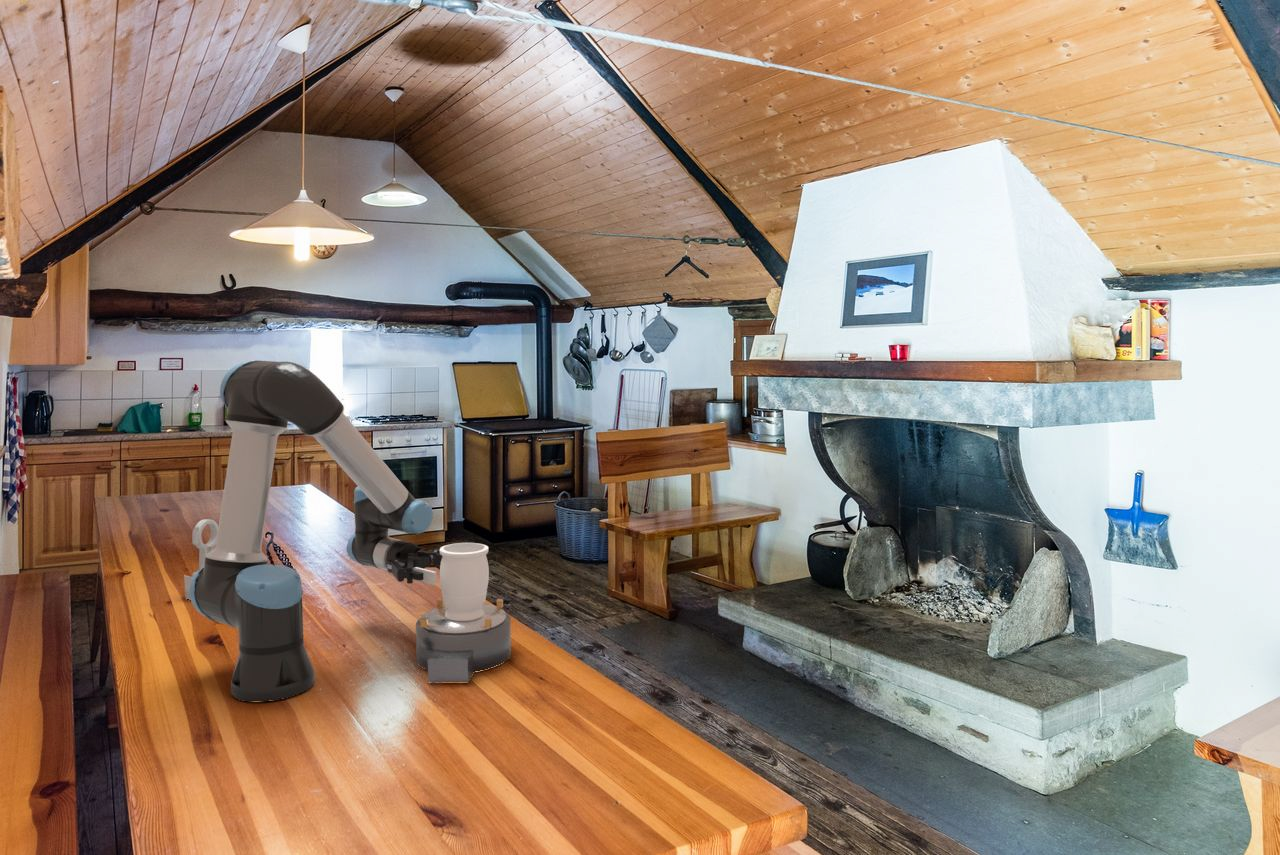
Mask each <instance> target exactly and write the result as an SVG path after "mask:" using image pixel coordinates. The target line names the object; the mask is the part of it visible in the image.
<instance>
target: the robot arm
mask: <svg viewBox="0 0 1280 855" xmlns="http://www.w3.org/2000/svg"><path fill="white" fill-rule="evenodd" d="M219 387H220V389H219V396H220V398H221V399H220V400H221V402H222V403H223V404H224V407H225V408H226V409H227V411H226V412H227V413H226V420H225V422H226V424H227V425H228V426H229V427H230V429H231V431H232V434H231V435H232V436H231V440H230V441H231V442H230V447H229V448H230V449H229V453H228V454H229V455H228V460H227V468H226V475H225V480H224V486H223V489H224V490H223V495H222V500H221V509H220V513H219V514H220V515H219V516H220V517H219V520H218V521H219V522H218V533H217V540H216V545H215V546H214V547H213V550H211V551H210V552H209V553H207V554H206V557H205V563H204V566H202V567H201V568H200V570H199V569H198V570H199V571H198V570H197V571H198V572H197V571H195V572H196V574H195V575H194V577H193V579H192V581H191V585H190V598H191V601H190V602H191V603H192V606H193V607H194V608H195V610H196V611H197V612H198V613H199V614H200V615H202V616H203V617H205V618H207V619H209V620H210V621H211V622H216V623H219V624H223V625H227V626H230V627H232V628H235V629H237V631H238V632H237V633H238V635H237V636H238V656H237V659H236V663H235V667H234V670H233V673H232V677H231V680H230V694H232V695H233V696H234V697H235V698H237V699H240V700H244V701H269V700H277V701H279V700H278V699H282V698H286V699H288V698H287V697H290V696H293V695H296V694H298V695H300V694H299V693H301V694H302V692H303V693H304V691H305V692H306V691H308V690H309V689H311V688H312V687H313V686H314V684H315V681H316V679H315V669H314V666H313V664H312V661H311V659H310V657H309V654H308V652H307V649H306V647H305V644H304V643H305V642H304V619H303V618H304V617H303V616H304V614H303V594H304V590H303V585H302V580H301V576H300V574H299V573H298V571H297V570H295V569H294V568H292V567H289V566H286V565H281V564H277V565H274V564H268V557H267V556H266V555H265V553H264V552H263V551H262V547H263V546H262V545H263V540H264V533H265V532H264V530H265V525H266V519H267V511H268V504H269V497H270V491H271V484H272V477H273V470H274V463H275V458H276V457H275V456H276V451H277V443H278V437H279V435H281V434H283V433H284V432H285V431H287V430H288V422H289V423H291V424H293V425H294V426H296V428H298V429H299V430H300V431H301V432H302V434H304V436H307V437H313V438H314V439H315V440H316V441H317V442H318V443H319V445H321V447H322V448H323V449H324V450H325V451H326V452H327V454H328V455H329V456H331V458H332V459H333V460H334V462H336V464H337V465H338V466H339V467H340V468H341V469H342V470H343V471H344V472H345V474H346V475H347V476H348V477H349V478H350V479H351V481H353V483H355V485H356V487H355V488H354V491H353V492H354V493H353V495H354V496H353V497H354V498H353V509H354V510H353V512H354V526H355V527H354V528H355V529H354V530H355V531H354V533H353V534H352V535H351V536H350V537H349V539H348V541H347V544H346V553H347V556H348V558H350V560H352V561H353V562H355V563H358V564H360V565H362V566H366V567H371V568H375V569H380V570H384V571H387V572H388V574H389V573H390V574H392V575H393V576H394V578H395V579H396V580H397V582H400V583H401V582H404V581H405V579H406V583H407V584H413V583H414V581H416V582H420V583H424V584H428V585H431V586H437V584H438V582H437V578H438V577H437V571H433V570H430V569H429V568H437V567H438V566H440V565H441V560H442V555H441V554H440V548H439V549H438V548H433V549H431V551H426V550H421V549H420V548H419V546H418V545H417V544H416V543H414V542H410V541H408V540H402V539H399V538H394V537H389V529H390V530H394V531H398V532H404V533H405V534H417V535H418V534H422V533H424V532H426V531H428V530H429V528H430V526H431V525H432V522H433V518H434V511H433V509H432V506H431V505H430V504H429V503H428V502H426V501H424V500H422V499H416V498H415V497H414V496H413V495H412V494H411V492H410V491H409V490H408V489H407V488H406V487H405V485H404V484H403V483H402V482H401V481H400V480H399V479H398V477H397V476H396V475H395V474H394V472H393V471H392V470H391V469H390V468H389V466H388V465H387V464H386V463H385V461H384V460H383V459H382V457H381V456H379V454H378V453H377V452H376V451H375V449H374V448H373V447H372V446H371V444H370V443H369V442H368V441H367V440H366V439H365V438H364V436H363V435H362V434H361V433H360V432H359V430H358V429H357V427H356V426H355V425H354V424H353V423H352V422H351V421H350V420H349V418H348V417H347V416H346V415H345V413H344V411H345V407H344V406H345V405H344V404H343V403H342V402H341V401H340V399H339V398H338V397H337V396H336V394H335V393H333V391H332V389H330V388H329V387H328V386H327V385H326V384H325V382H323V380H321V379H320V378H319V377H318V376H317V375H316V374H314V373H313V372H312V371H311V370H310V369H308V368H306V367H305V366H303V365H301V364H299V363H295V362H292V361H273V360H272V361H271V360H270V361H269V360H257V359H256V360H248V361H245V362H240V363H238V364H236V365H234V366H233V367H231V368H230V369H229V370H228V371H227V372H226V373H225V375H224V376H223V377H222V380H221V383H220V386H219ZM432 561H433V562H432ZM426 568H428V569H426ZM232 695H231V696H232ZM233 696H232V697H233ZM296 696H297V695H296ZM234 697H233V698H234ZM293 697H294V696H293ZM235 698H234V699H235ZM290 698H291V697H290ZM237 699H236V700H237ZM240 700H239V701H240ZM282 700H283V699H282ZM244 701H243V702H244Z"/></svg>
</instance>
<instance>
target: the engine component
mask: <svg viewBox="0 0 1280 855" xmlns="http://www.w3.org/2000/svg"><path fill="white" fill-rule="evenodd" d="M207 525H208V526H209V529H210V537H209V540H208V541H207V542H206V543H204V542H203V538H202V536H203V535H202V533H203V531H204V528H205V527H206V526H207ZM218 527H219V523H217V522H216V521H215V520H213V519H209V518H208V519H207V518H206V519H201V520H200V521H198V522H197V523H196V524H195V526H194V529H193V531H191V532H192V533H191V535H192V539H191V540H192V541H191V542H192V545H194V546H195V547H196V548H197V549H198V550H199V554H198V556H199V557H198V558H199V559H198V569H197V571H194V572H193V573H192V574H191V576H188V575H186V574H184V575H183V576H184V577H183V578H184V579H183V580H184V598H185V600H187V599H189V600H188V601H190V600H191V598H190V585H191V581H192V579H193V577H194V575H195V574H196V572H198V571H199V570H200V568H201V567H202V566H204V563H205V557H206V554H207V553H209V552H210V551H211V550H213V549H214V548H215V546H216V540H217V533H218Z"/></svg>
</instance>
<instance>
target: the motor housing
mask: <svg viewBox="0 0 1280 855" xmlns="http://www.w3.org/2000/svg"><path fill="white" fill-rule="evenodd" d="M436 603H437V604H436V607H435V608H433V609H431V610H428V611H427V612H425V613H424V614H422V616H421V617H420V618H419V619H417V620H416V622H415V640H416V642H415V643H416V645H415V646H416V647H415V648H416V663H418V664H419V665H420V666H421V667H423V668H425V669H426V670H425V671H427V670H428V671H427V680H428V681H427V683H428V682H469V683H470V681H471V679H472V678H471V676H472V674H473V675H474V673H473V672H475V671H480V670H485V669H488V668H491V667H494V666H496V665H499V664H501V663H503V662H505V661H506V660H507V659H508V658H509V657H510V658H511V656H510V655H512V652H511V651H512V643H511V642H512V640H511V639H512V638H511V635H512V634H511V633H512V631H511V629H512V628H511V615H510V614H509V613H508V612H506V611H505V610H504V609H503V607H504V599H503V598H497V600H496V605H492V604H485V603H484V604H483V606H482V609H483V610H484V615H483V616H482V617H481V618H479V619H476V620H471V621H453V620H450V619H448V618H446V617H445V613H446V611H447V608H446V606H445V604H444V601H443V598H438V599H437V600H436ZM510 658H509V659H510ZM505 663H506V662H505ZM418 664H417V665H418ZM419 665H418V666H419ZM420 666H419V667H420ZM421 667H420V668H421ZM472 677H473V676H472ZM470 678H471V679H470ZM469 680H470V681H469Z"/></svg>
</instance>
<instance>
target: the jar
mask: <svg viewBox="0 0 1280 855" xmlns="http://www.w3.org/2000/svg"><path fill="white" fill-rule="evenodd" d="M439 550H440V554H441V555H442V560H441V565H439V583H440V584H439V585H440V590H441V596H442V599H443V601H444V606H446V608H447V611H446V613H445V617H446V618H448V619H450V620H453V621H471V620H476V619H479V618H481V617H482V616H483V615H484V610H483V609H482V606H483V604H485V602H486V599H487V594H488V587H489V578H490V572H489V570H490V568H489V562H488V558H487V555H488V554H489V546H488V545H486V544H483V543H477V542H476V543H475V542H458V543H457V542H455V543H451V544H447V545H443V546H441V547H440V548H439Z"/></svg>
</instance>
